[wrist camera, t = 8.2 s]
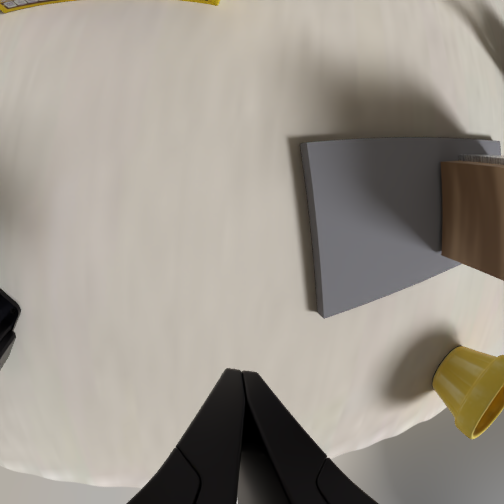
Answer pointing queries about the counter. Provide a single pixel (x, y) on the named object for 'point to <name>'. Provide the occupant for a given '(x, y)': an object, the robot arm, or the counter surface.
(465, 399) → the plant pot
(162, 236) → the counter surface
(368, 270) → the mat
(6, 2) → the candy box
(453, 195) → the wood block
